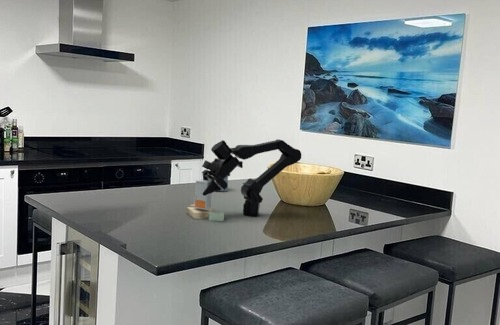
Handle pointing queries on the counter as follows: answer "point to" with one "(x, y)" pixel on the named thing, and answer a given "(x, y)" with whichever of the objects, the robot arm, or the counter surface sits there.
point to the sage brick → (216, 216)
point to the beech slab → (198, 212)
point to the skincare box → (200, 199)
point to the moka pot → (226, 177)
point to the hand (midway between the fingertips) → (200, 193)
